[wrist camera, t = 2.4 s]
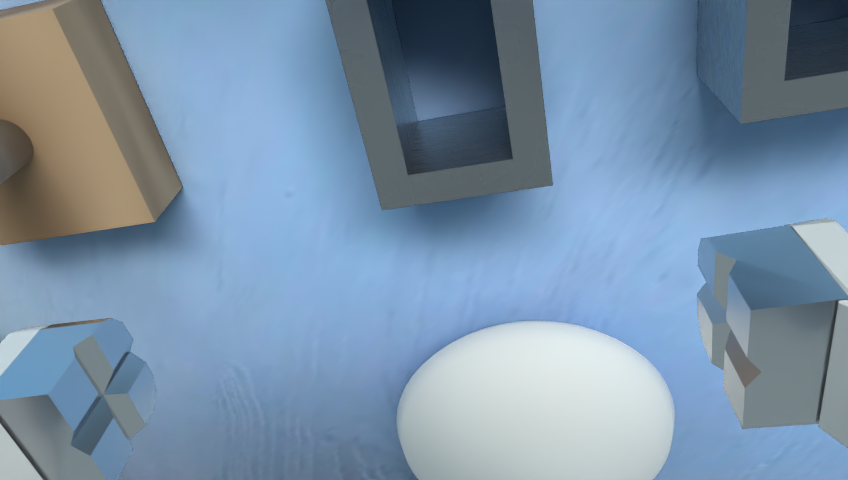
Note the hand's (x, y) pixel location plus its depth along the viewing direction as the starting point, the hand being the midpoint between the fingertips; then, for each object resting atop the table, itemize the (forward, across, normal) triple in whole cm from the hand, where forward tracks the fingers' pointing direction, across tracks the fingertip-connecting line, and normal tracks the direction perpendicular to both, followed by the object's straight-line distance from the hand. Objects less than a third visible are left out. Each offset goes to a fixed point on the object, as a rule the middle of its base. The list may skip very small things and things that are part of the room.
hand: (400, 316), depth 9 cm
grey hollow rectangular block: (+14, 0, 0) cm, 14 cm away
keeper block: (+14, +14, 0) cm, 19 cm away
